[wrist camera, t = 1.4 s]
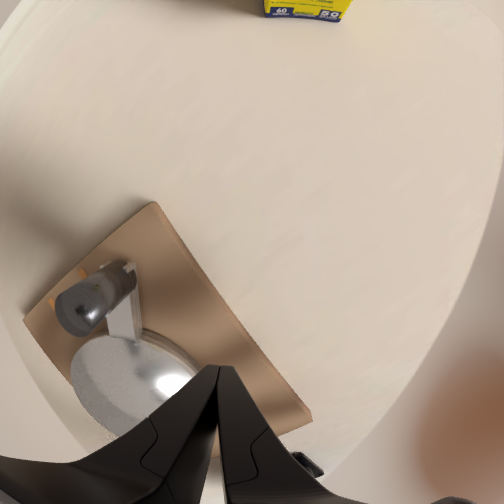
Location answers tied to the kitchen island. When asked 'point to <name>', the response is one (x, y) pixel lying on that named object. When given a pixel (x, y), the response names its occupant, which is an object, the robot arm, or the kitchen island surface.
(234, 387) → the robot arm
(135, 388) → the silver disc with handle
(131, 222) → the walnut board
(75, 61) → the kitchen island surface
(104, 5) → the kitchen island surface
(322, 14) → the supplement box
